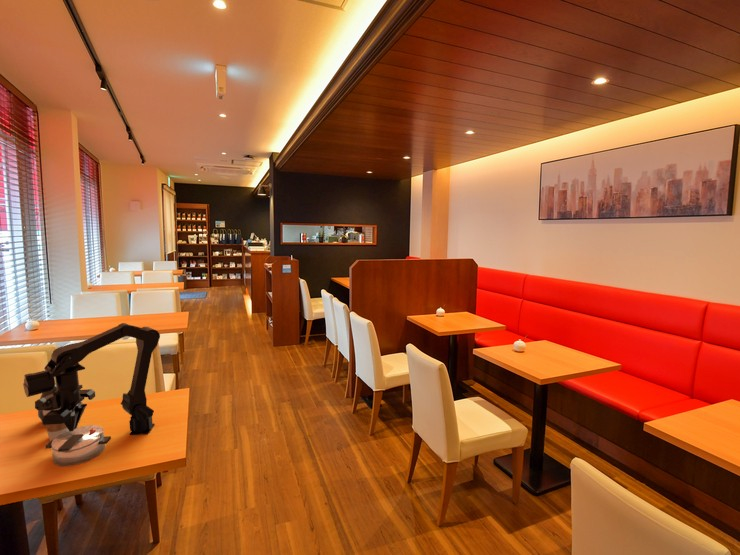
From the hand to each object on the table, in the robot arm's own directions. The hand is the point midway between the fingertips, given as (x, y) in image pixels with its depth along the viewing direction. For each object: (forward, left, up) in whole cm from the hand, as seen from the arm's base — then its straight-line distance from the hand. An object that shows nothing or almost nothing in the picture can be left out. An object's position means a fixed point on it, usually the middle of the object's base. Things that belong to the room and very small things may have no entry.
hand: (73, 429), depth 126 cm
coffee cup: (+13, -14, -10) cm, 22 cm away
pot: (0, -2, -10) cm, 10 cm away
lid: (0, -2, -5) cm, 5 cm away
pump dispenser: (+21, -26, -10) cm, 35 cm away
